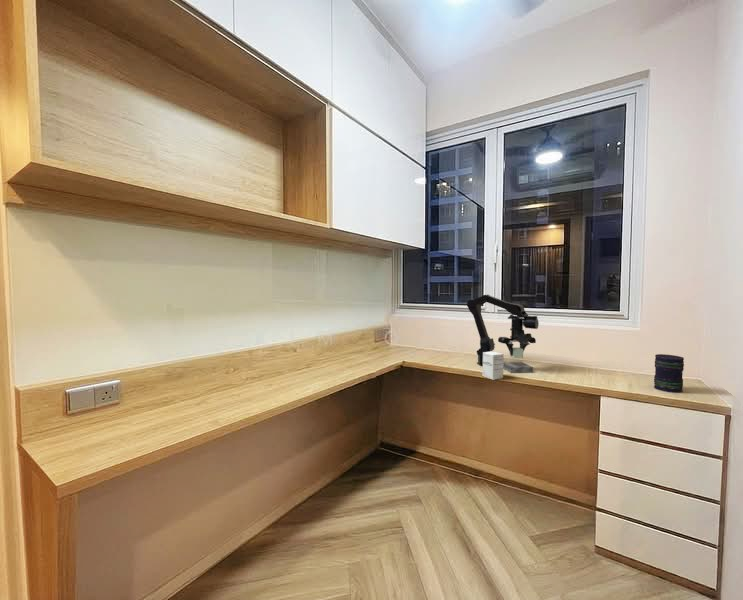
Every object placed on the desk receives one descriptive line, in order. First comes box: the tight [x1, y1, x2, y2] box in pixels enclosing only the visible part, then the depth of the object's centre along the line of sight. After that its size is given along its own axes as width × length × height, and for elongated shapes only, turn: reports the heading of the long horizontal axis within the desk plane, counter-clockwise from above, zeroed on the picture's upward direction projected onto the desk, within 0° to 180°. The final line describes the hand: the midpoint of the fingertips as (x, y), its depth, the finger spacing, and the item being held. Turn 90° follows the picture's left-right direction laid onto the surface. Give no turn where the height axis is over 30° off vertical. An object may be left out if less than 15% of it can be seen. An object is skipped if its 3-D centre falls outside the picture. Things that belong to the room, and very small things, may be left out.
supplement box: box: [482, 350, 505, 381], centre depth 172 cm, size 7×7×13 cm
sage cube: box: [509, 346, 524, 359], centre depth 186 cm, size 5×5×5 cm
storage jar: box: [653, 353, 685, 394], centre depth 152 cm, size 10×10×15 cm
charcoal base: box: [503, 361, 534, 374], centre depth 187 cm, size 12×12×3 cm
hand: (516, 355), depth 186 cm, fingers closed on sage cube, 5 cm apart
